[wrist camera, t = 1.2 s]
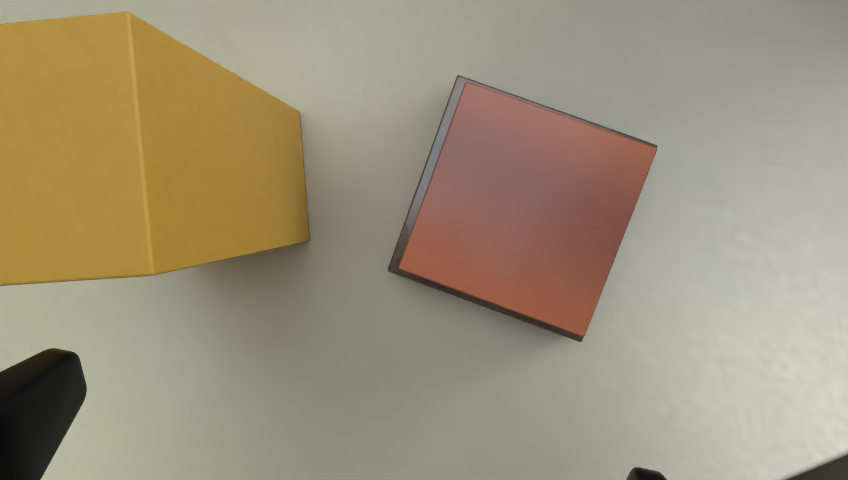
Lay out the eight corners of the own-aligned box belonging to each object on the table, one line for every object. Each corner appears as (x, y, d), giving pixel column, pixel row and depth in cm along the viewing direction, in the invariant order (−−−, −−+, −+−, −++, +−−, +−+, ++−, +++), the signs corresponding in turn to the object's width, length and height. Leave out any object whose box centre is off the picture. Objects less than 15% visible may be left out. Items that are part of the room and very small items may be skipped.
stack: (572, 332, 25) (593, 355, 21) (393, 265, 25) (380, 276, 21) (642, 150, 24) (677, 139, 20) (457, 85, 25) (457, 61, 21)
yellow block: (310, 240, 26) (153, 276, 13) (185, 249, 26) (-92, 292, 13) (299, 110, 25) (128, 10, 12) (173, 121, 26) (-122, 34, 13)
